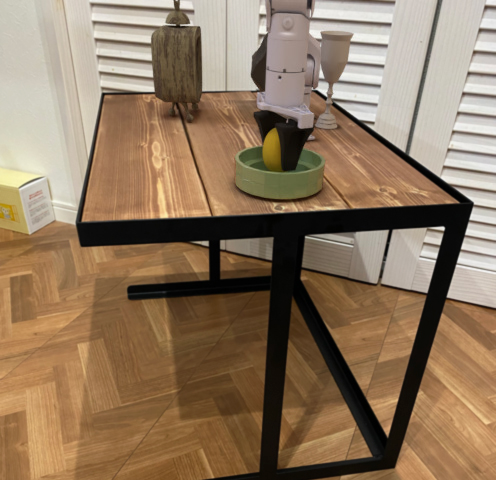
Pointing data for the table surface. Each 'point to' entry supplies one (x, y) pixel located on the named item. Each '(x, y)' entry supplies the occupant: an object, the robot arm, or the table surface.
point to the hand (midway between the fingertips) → (279, 163)
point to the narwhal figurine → (260, 65)
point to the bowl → (278, 175)
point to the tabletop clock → (177, 62)
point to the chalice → (332, 68)
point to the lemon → (272, 152)
